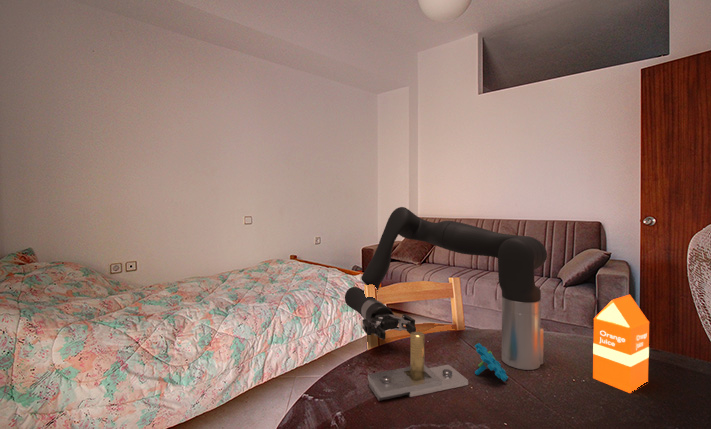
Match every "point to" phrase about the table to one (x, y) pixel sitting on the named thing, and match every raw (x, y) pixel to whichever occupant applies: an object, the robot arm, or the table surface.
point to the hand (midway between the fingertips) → (399, 334)
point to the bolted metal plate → (401, 383)
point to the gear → (489, 363)
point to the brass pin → (417, 356)
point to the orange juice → (621, 345)
